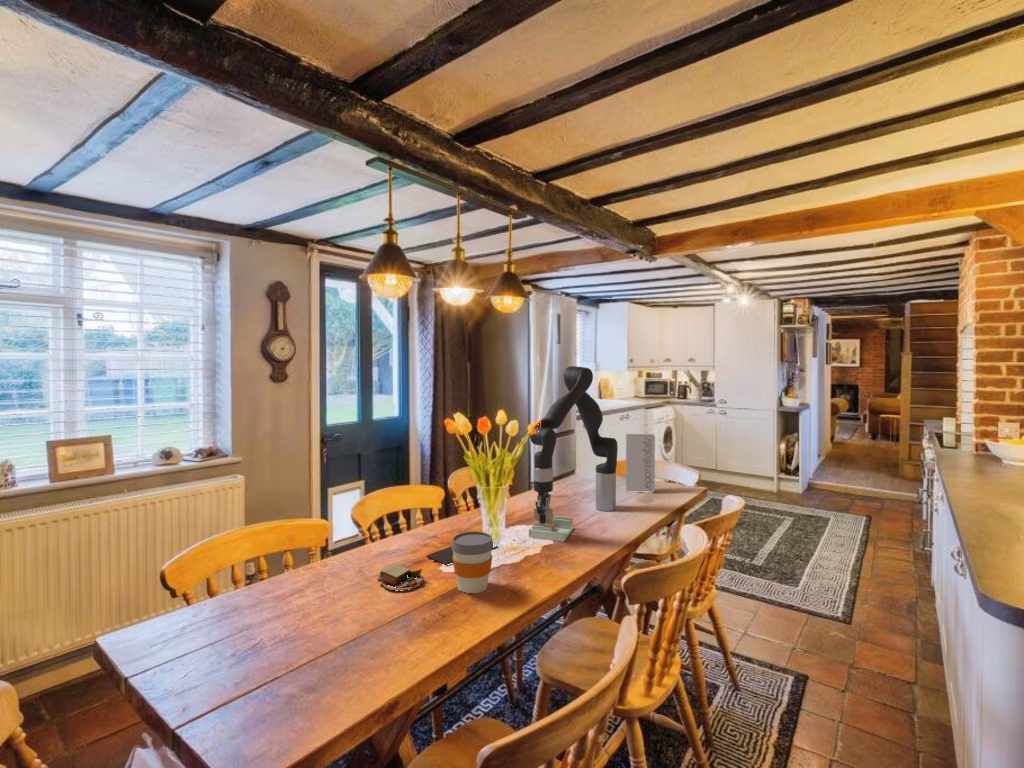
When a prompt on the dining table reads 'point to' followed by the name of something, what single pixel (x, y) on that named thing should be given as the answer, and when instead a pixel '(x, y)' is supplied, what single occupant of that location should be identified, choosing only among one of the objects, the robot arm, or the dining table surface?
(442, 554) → the smartphone
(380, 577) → the toy sandwich meal
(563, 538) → the tray
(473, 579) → the reusable coffee cup
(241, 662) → the dining table surface
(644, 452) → the brochure
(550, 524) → the tan rectangular block
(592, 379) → the robot arm
